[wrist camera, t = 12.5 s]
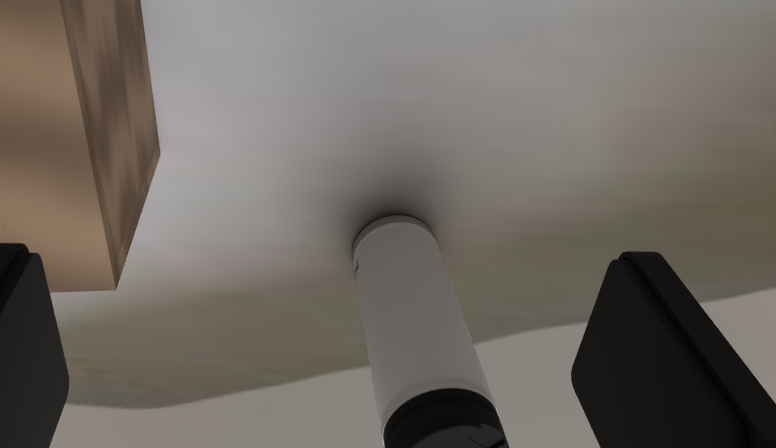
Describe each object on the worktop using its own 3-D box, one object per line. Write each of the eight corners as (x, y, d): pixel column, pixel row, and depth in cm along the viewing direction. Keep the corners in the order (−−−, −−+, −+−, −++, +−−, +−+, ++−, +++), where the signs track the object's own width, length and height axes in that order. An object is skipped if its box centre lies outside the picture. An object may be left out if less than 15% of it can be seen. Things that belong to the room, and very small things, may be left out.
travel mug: (330, 257, 48) (359, 499, 32) (394, 197, 46) (460, 421, 30) (390, 299, 51) (446, 540, 34) (452, 244, 49) (543, 472, 32)
